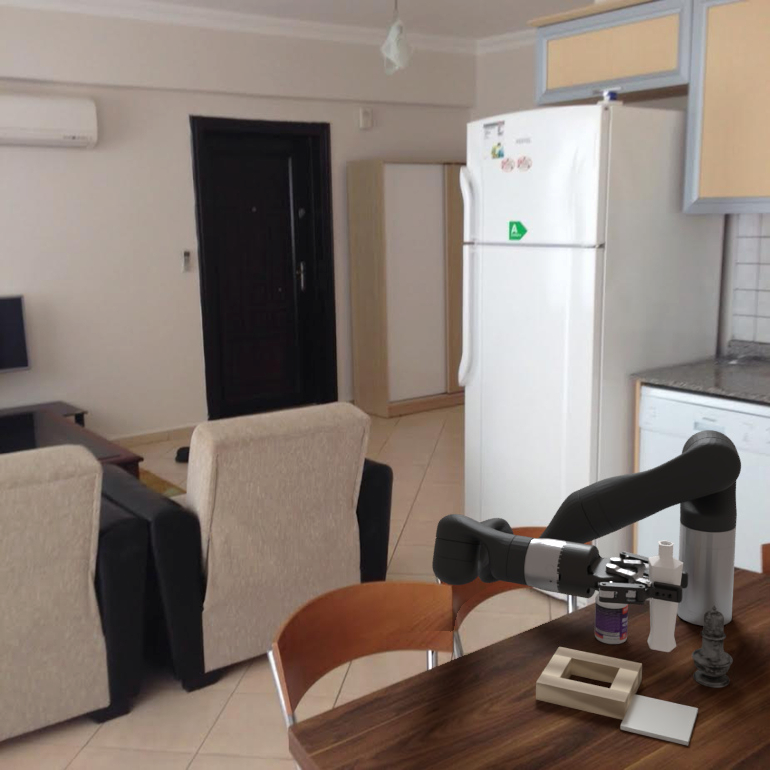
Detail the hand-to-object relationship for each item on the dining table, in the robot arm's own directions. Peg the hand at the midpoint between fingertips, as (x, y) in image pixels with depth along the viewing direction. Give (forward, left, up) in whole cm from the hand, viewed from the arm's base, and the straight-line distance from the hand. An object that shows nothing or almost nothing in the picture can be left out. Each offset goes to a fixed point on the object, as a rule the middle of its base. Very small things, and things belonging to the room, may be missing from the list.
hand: (684, 587), depth 117 cm
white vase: (0, -3, -9) cm, 10 cm away
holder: (-4, -14, -21) cm, 25 cm away
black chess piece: (-15, +2, -21) cm, 26 cm away
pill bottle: (-22, -15, -21) cm, 34 cm away
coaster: (0, -3, -21) cm, 21 cm away
